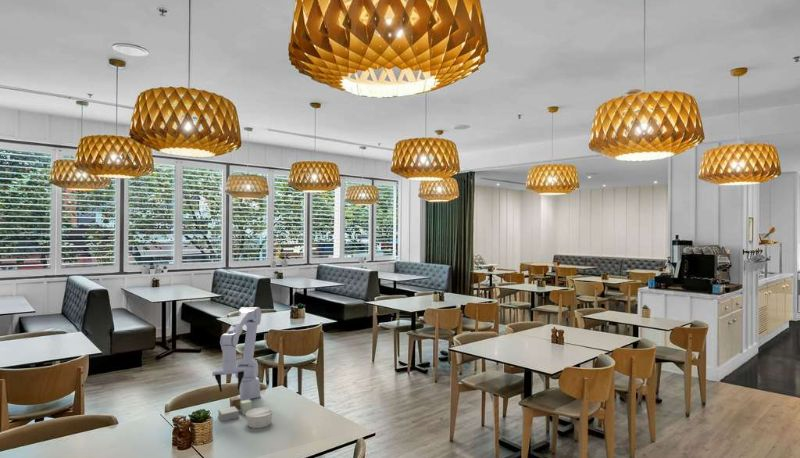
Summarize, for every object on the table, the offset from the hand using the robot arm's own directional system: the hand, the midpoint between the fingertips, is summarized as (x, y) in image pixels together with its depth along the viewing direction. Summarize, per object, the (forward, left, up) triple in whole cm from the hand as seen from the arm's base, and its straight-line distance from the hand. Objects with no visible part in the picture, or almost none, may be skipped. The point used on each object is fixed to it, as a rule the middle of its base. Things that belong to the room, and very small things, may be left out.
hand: (229, 390), depth 224 cm
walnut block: (-3, -2, -10) cm, 11 cm away
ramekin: (-7, +22, -10) cm, 25 cm away
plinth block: (+2, +6, -10) cm, 12 cm away
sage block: (-6, +5, -10) cm, 13 cm away
